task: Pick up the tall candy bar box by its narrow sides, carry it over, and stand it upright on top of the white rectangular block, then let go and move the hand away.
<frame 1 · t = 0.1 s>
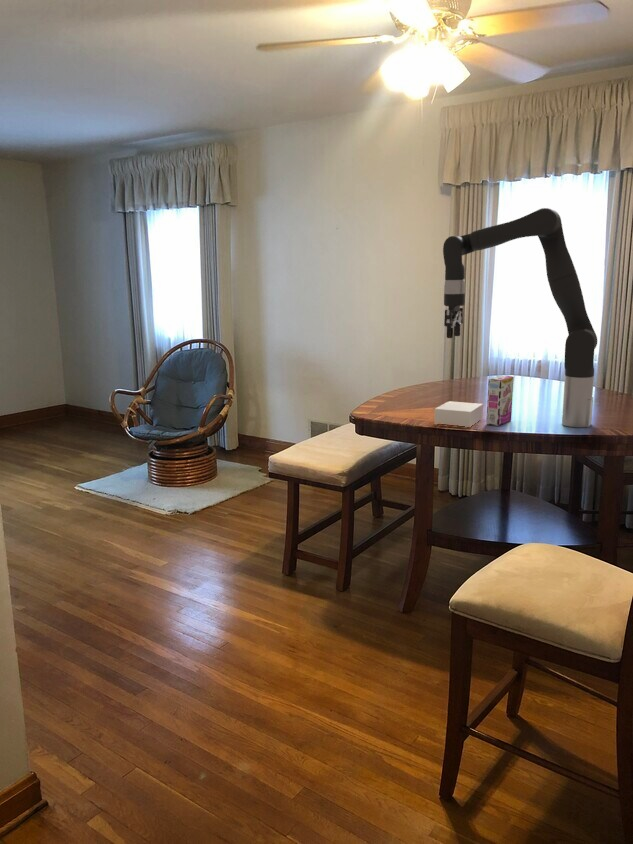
hand: (453, 337, 244), 29 cm above the table, tool pointing down, fingers open, 8 cm apart
candy bar box: (499, 423, 234), on the table
white rectangular block: (458, 422, 237), on the table
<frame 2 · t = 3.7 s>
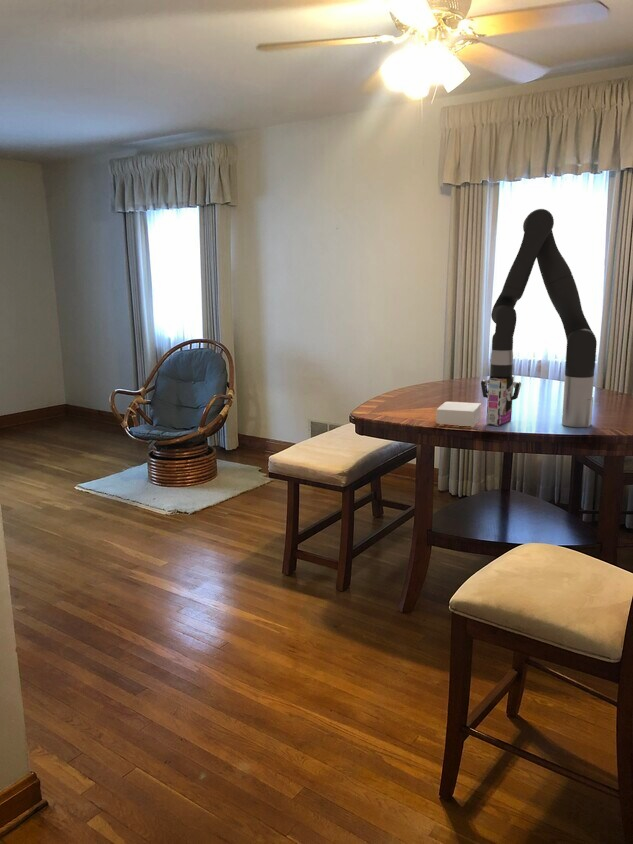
hand: (499, 409, 233), 5 cm above the table, tool pointing down, fingers closed on candy bar box, 5 cm apart
candy bar box: (499, 423, 234), on the table, touching gripper
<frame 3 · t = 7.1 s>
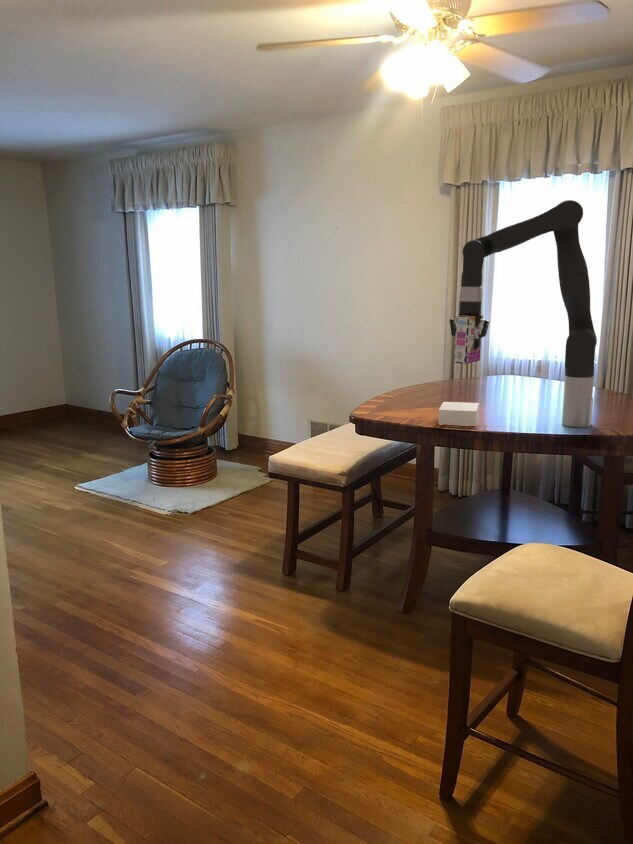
hand: (467, 348, 231), 26 cm above the table, tool pointing down, fingers closed on candy bar box, 5 cm apart
candy bar box: (467, 362, 232), point 21 cm above the table, touching gripper
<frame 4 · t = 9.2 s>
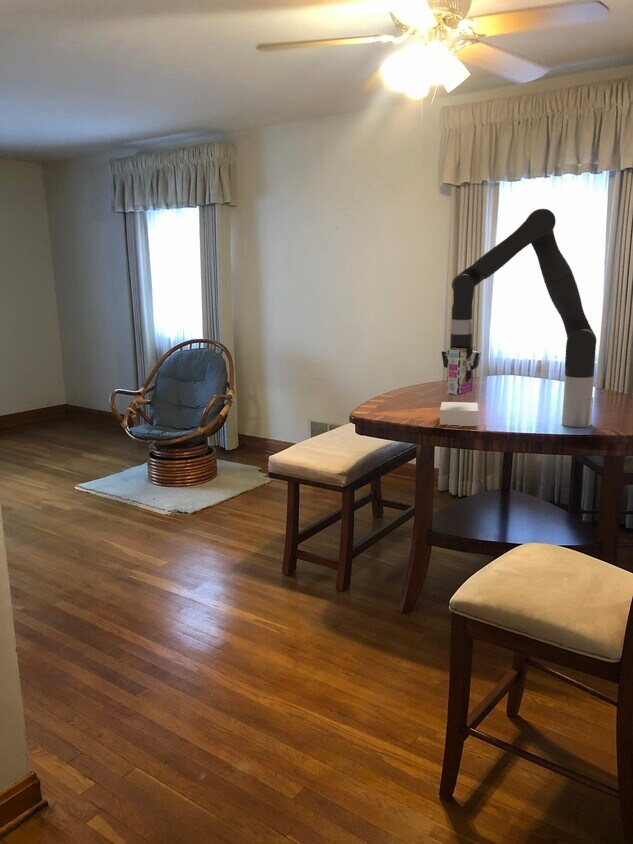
hand: (460, 380, 234), 15 cm above the table, tool pointing down, fingers closed on candy bar box, 5 cm apart
candy bar box: (459, 393, 235), point 10 cm above the table, touching gripper
when the fingers open (12 cm above the table, at t = 10.8 s): candy bar box drops 2 cm, resting on white rectangular block.
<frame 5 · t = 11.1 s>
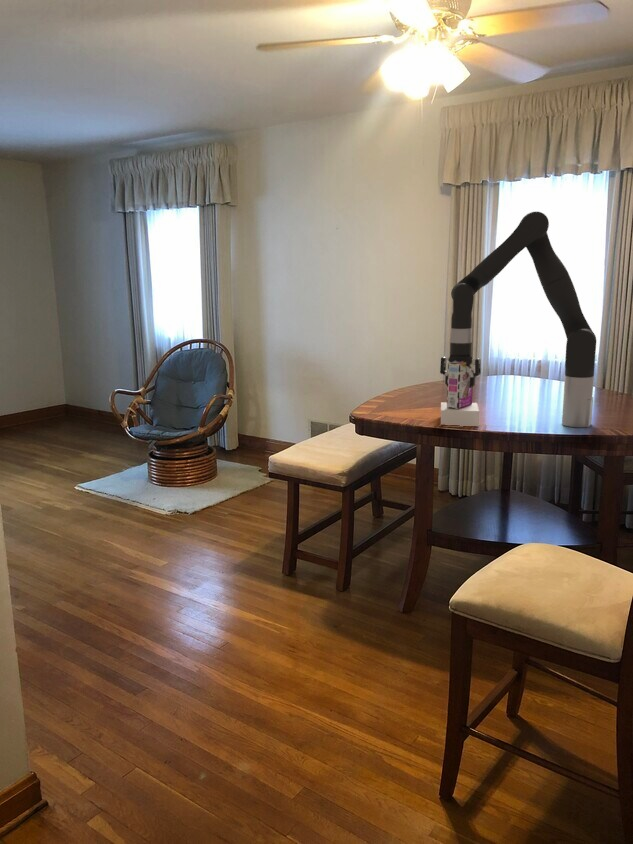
hand: (459, 386, 234), 13 cm above the table, tool pointing down, fingers open, 8 cm apart
candy bar box: (460, 407, 236), point 5 cm above the table, touching white rectangular block
white rectangular block: (459, 422, 237), on the table, touching candy bar box
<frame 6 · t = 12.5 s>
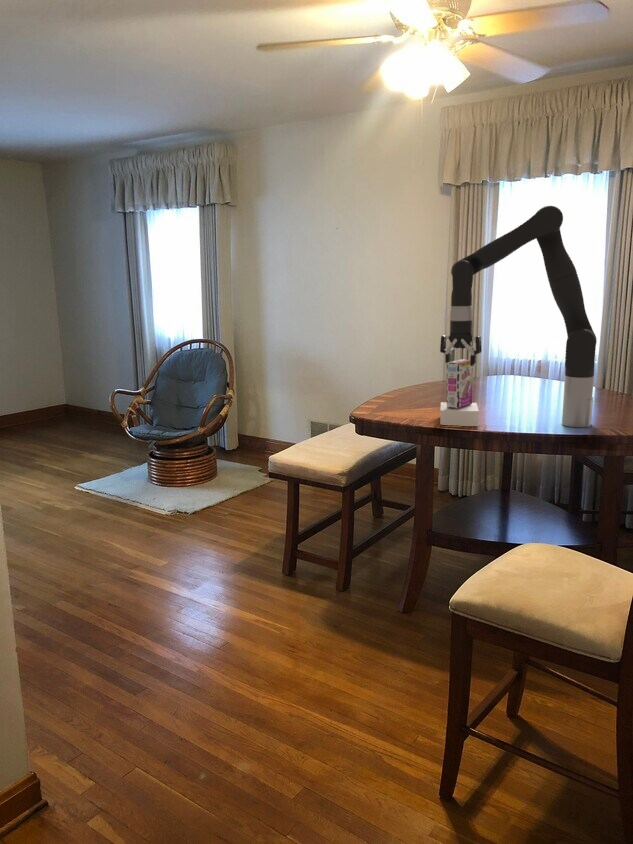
hand: (460, 365, 232), 20 cm above the table, tool pointing down, fingers open, 8 cm apart
nothing on the table moved.
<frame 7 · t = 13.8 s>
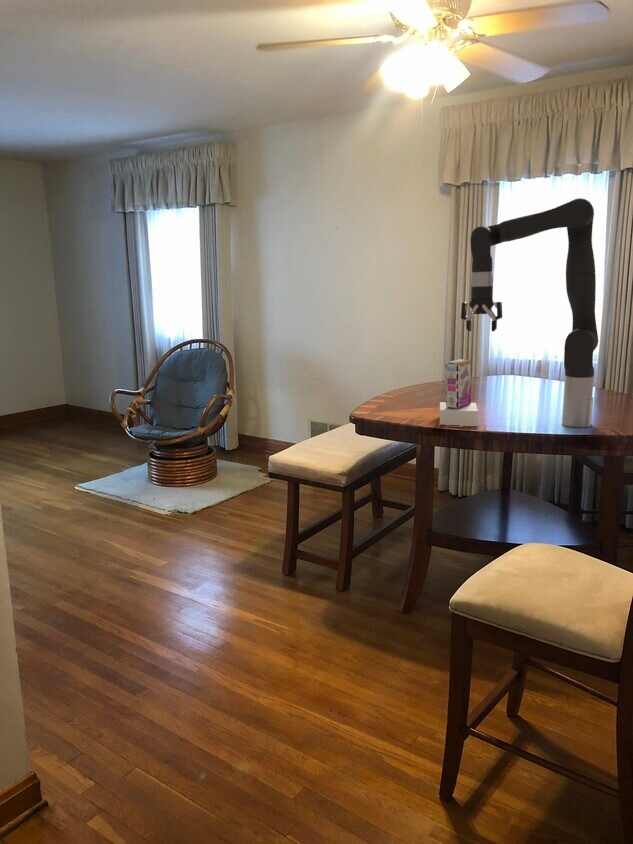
hand: (481, 331, 235), 32 cm above the table, tool pointing down, fingers open, 8 cm apart
nothing on the table moved.
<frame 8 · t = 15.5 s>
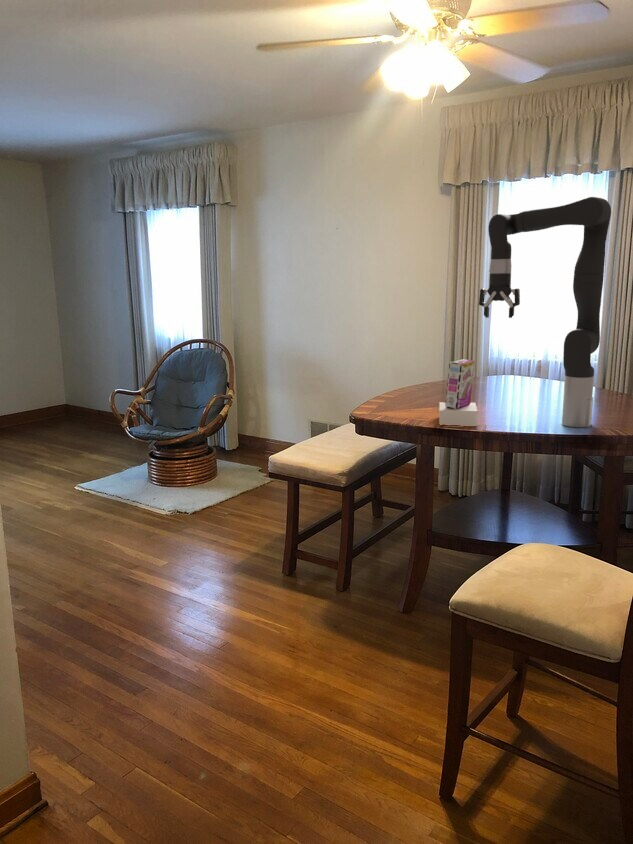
hand: (498, 317, 240), 36 cm above the table, tool pointing down, fingers open, 8 cm apart
at the end: candy bar box inside the target area on the white rectangular block (0.3 cm from its centre), point 5.8 cm above the white rectangular block's base; candy bar box tilted 1°; candy bar box touching white rectangular block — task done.
